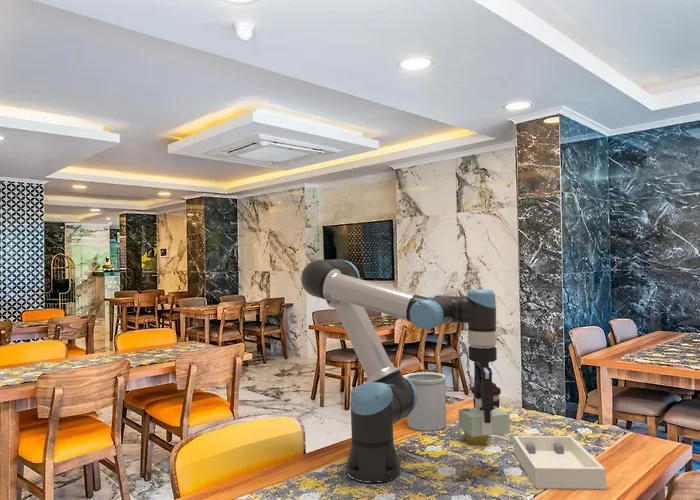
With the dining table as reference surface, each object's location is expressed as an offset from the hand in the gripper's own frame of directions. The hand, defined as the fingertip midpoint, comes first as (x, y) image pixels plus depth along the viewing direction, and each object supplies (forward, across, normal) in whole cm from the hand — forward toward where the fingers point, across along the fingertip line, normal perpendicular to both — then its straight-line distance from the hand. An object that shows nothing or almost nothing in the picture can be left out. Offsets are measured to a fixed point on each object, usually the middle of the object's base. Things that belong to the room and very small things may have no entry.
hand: (483, 427), depth 135 cm
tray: (+12, +3, -20) cm, 23 cm away
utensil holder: (+13, +41, +13) cm, 45 cm away
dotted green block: (+1, 0, 0) cm, 1 cm away
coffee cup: (+13, +39, -8) cm, 41 cm away
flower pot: (+13, +24, -2) cm, 27 cm away
